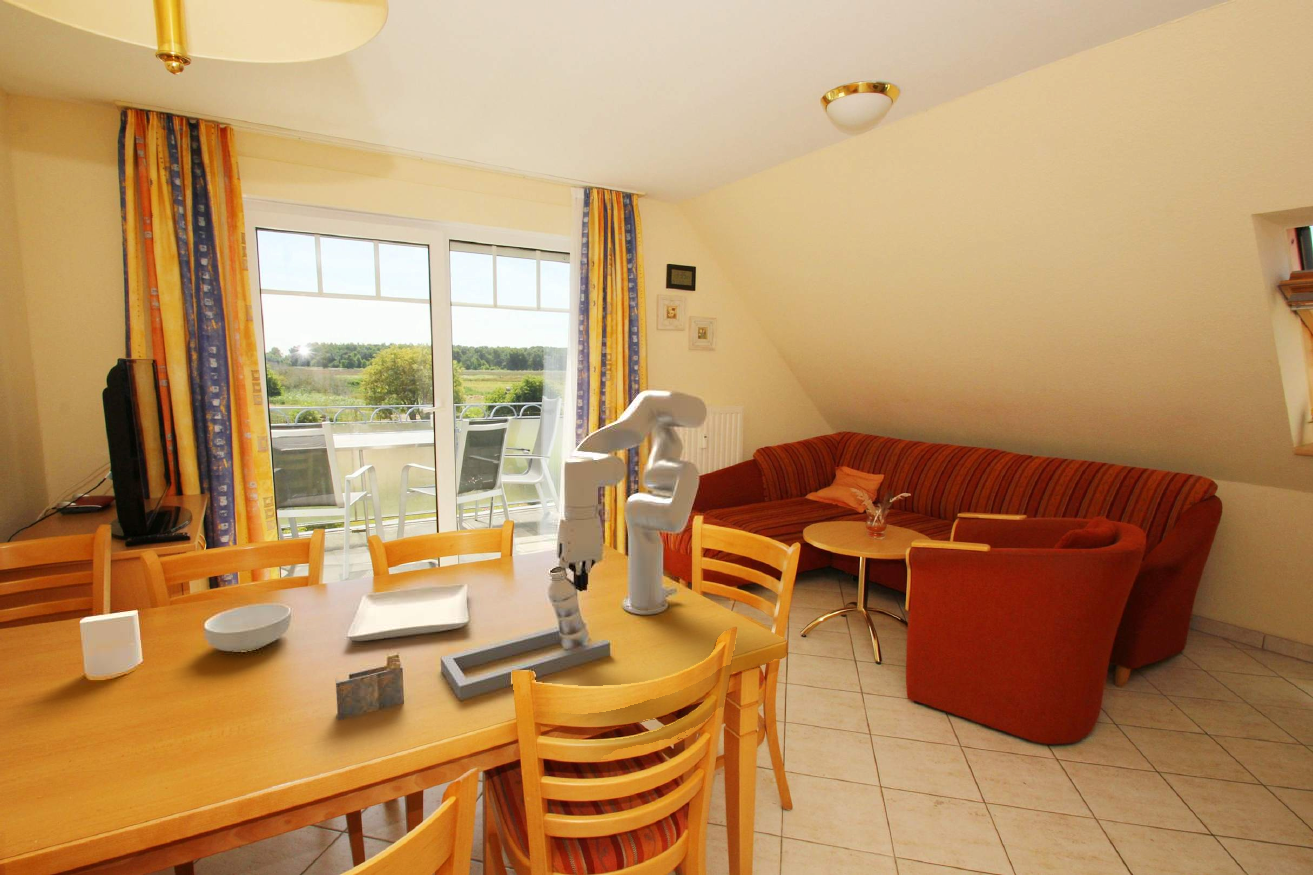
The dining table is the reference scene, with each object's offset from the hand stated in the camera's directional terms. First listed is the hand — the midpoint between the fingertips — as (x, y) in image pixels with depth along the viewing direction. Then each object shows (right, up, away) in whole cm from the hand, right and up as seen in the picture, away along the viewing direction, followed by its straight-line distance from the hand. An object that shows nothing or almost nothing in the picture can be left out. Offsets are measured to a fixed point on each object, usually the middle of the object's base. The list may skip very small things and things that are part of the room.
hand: (580, 588), depth 137 cm
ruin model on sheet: (-37, -18, -23) cm, 47 cm away
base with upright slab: (-98, -15, -11) cm, 100 cm away
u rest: (-10, -15, -5) cm, 19 cm away
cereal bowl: (-77, -14, +1) cm, 79 cm away
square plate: (-46, -13, +17) cm, 50 cm away
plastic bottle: (-1, -14, +1) cm, 14 cm away
